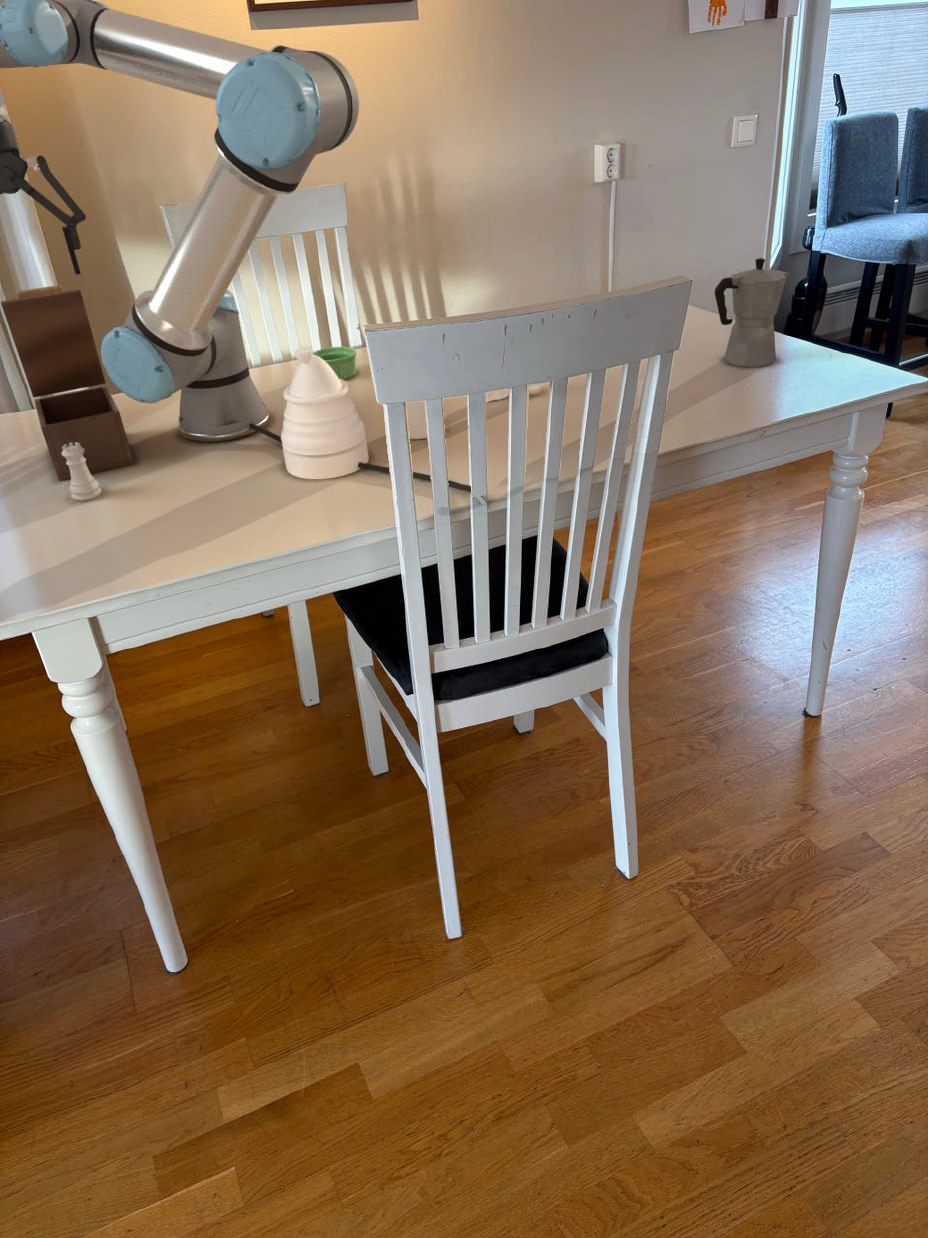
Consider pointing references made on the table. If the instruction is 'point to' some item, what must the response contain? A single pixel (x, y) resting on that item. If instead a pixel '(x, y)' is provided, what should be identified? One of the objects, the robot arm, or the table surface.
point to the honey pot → (321, 423)
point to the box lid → (53, 340)
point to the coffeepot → (751, 314)
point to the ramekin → (339, 360)
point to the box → (84, 429)
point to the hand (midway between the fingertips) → (31, 279)
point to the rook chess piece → (80, 474)
